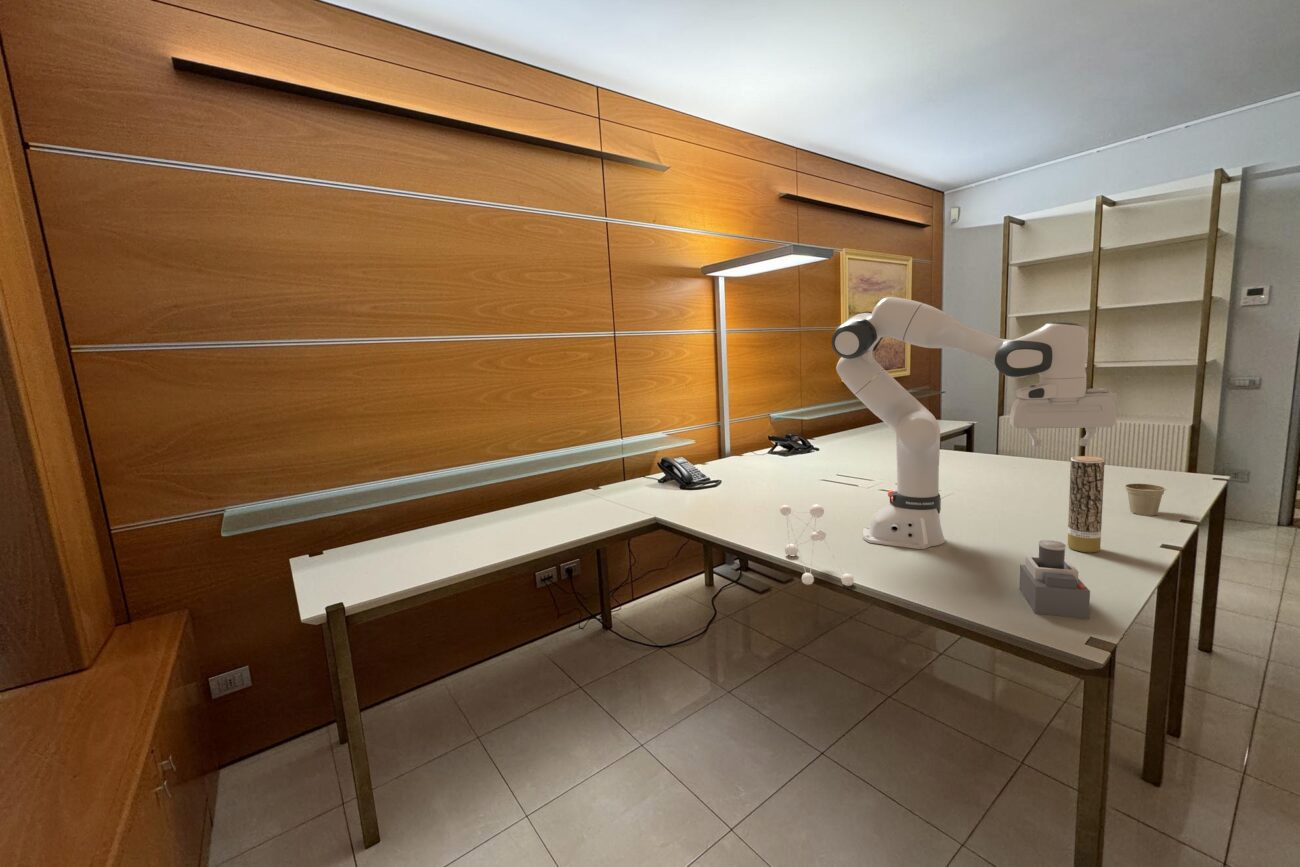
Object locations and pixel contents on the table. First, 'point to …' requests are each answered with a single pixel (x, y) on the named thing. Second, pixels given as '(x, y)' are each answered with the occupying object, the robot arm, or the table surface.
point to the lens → (1051, 554)
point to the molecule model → (819, 535)
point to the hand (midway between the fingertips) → (1059, 445)
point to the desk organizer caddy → (1054, 589)
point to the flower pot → (1144, 498)
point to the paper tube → (1085, 503)
